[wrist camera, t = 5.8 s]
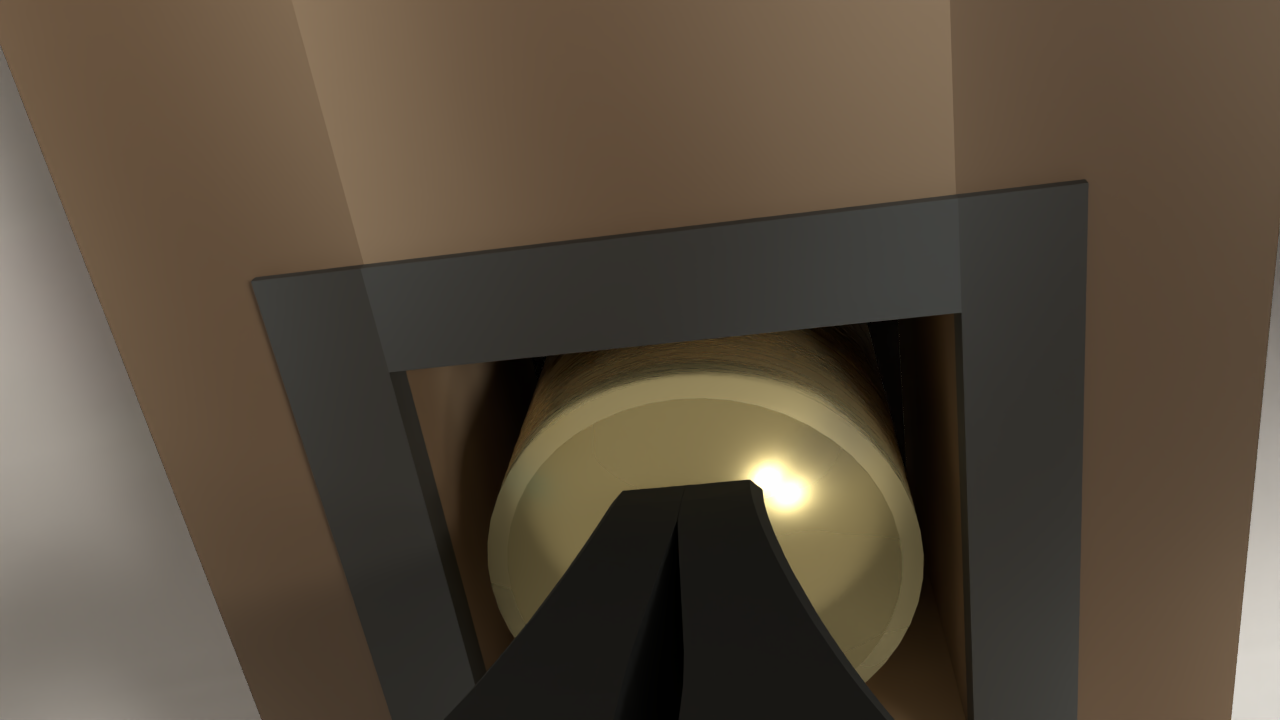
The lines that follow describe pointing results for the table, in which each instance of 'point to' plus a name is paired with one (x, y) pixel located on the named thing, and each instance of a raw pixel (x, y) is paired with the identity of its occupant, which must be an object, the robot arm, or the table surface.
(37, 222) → the table surface
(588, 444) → the brass peg
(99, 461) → the table surface
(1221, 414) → the wooden block
